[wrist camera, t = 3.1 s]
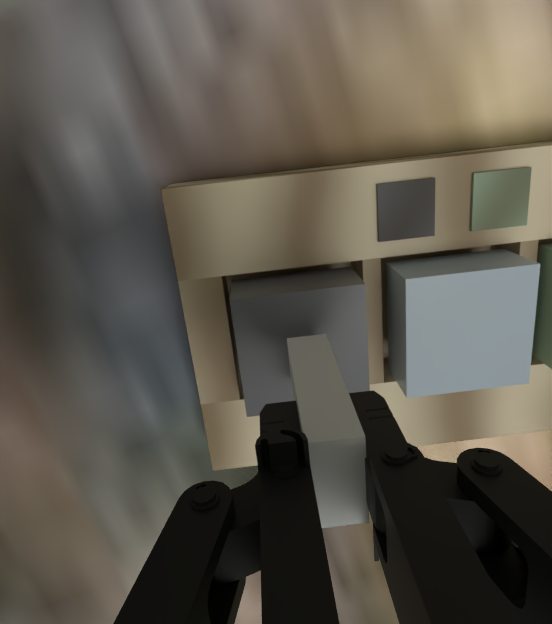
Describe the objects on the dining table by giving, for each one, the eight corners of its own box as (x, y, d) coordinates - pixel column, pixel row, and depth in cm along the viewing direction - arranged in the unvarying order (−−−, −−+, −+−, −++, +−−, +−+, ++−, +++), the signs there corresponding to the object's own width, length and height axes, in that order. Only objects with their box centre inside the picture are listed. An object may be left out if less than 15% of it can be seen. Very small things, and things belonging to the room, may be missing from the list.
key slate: (388, 368, 23) (406, 398, 20) (386, 262, 21) (405, 279, 18) (496, 355, 23) (528, 383, 20) (504, 248, 21) (540, 263, 18)
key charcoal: (247, 385, 23) (246, 417, 20) (232, 280, 21) (229, 299, 18) (356, 372, 23) (370, 402, 20) (351, 266, 21) (365, 283, 18)
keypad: (217, 435, 26) (212, 473, 23) (172, 183, 21) (159, 189, 18) (630, 386, 27) (678, 417, 24) (677, 126, 22) (746, 123, 19)
